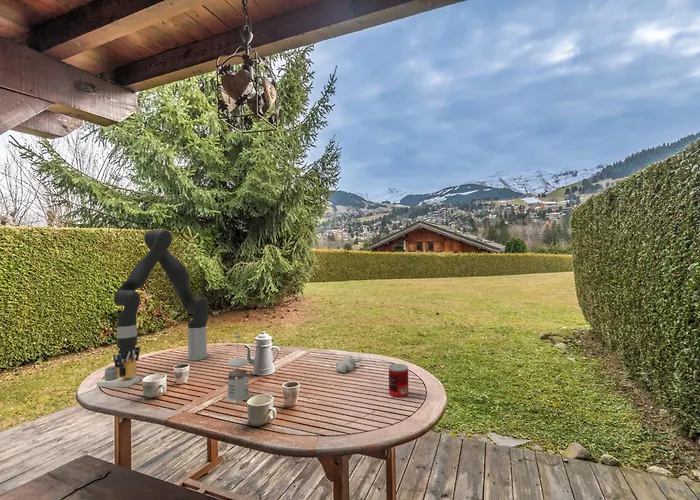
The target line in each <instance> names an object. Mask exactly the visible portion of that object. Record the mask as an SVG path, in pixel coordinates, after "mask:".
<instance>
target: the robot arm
mask: <svg viewBox="0 0 700 500" xmlns="http://www.w3.org/2000/svg"><path fill="white" fill-rule="evenodd" d="M143 238H144V243H145V244H146V245H145V246H147V248H148V249H149V251H148V252H147V253H146V254H145V256H144V257H142V259H140V260H139V261H138V262H137V264H135V266H134V268H133V269H132V270H131V272H130V274H129V276H128V277H127V279H126V281H124V282H123V284H122V285H121V286H120V287H119V288H118V289H117V290H116V292H115V294H114V296H113V301H114V303H115V305H117V306H119V307H123V311H122V312H121V311H120V312H119V313H118V315H117V329H116V347H117V348H118V353H117V354H113V355H112V358H113V362H114V366H115V367H116V368H119V375H120V376H121V377H124V376H125V375H126V368H125V367H126V363H127V362H128V359H132V360H131V361H136V362H137V361H139V358H140V357H139V356H140V351H141V347H140V346H137V344H138V327H137V313H138V311H139V307H140V302H141V297H140V296H141V295H140V293H138V292H137V290H138V289H141V288H143V287H144V285H145V284H146V282H147V280H148V278H149V277H150V274H151V273H152V271H153V269H154V268H155V266H156V265H157V263H159V264H160V265H159V266H161V268H162V270H163V271H164V273H165V274H166V277H167V278H168V280H169V282H170V284H171V285H172V287H173V288H174V289H175V292H176V294H177V295H178V297H179V299H180V302H181V304H182V306H183V309H184V311H186V313H188V314H191V315H193V319H192V320H190V321H188V323H187V359H188V361H193V362H195V361H201V360H204V359H206V358H207V357H208V352H207V351H208V350H207V349H208V342H207V322H208V319H209V302H208V299H206V298H205V297H203V296H201V297H200V296H199V297H198V296H195V295H194V293H193V292H192V291H191V288H190V274H189V272H188V271H187V269H186V267H185V266H184V264H183V263H182V262H181V261H180V260H179V259H178V258H176V257H175V256H174V255H173V254H172V253H171V252H170V251H169V250H168V248H170V246H171V244H172V242H173V234H172V233H171V232H170V231H169V230H168V229H151V230H147V231H146V233H145V234H144V237H143ZM122 359H125V360H122ZM122 362H124V363H123V365H122ZM118 364H119V365H118Z"/></svg>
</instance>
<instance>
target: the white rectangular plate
mask: <svg viewBox="0 0 700 500" xmlns="http://www.w3.org/2000/svg"><path fill="white" fill-rule="evenodd" d="M140 381H141V375H134V376H132V377H130V379H128V380H125V378H117V379H115V380H111V381H105V377H104V378H102V379H100V380H98V381H97V382H96V387H97V388H98V387H101V388H104V387H105V388H129V387H130V385H131V386H133V385H134V384H136V383H139V382H140ZM132 384H133V385H132ZM128 386H129V387H128Z"/></svg>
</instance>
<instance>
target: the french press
mask: <svg viewBox="0 0 700 500" xmlns="http://www.w3.org/2000/svg"><path fill="white" fill-rule="evenodd" d="M234 338H236V341H237V346H236V347H237V351H236V352H239V338H241V334H239V333H236V334H235V336H234ZM248 364H249V360H248V359H246V358H242V357H237V358H233V359H230V360H228V362H227V365H228V366H229V367H232V371H229V372H228V376H227V395H226V396H225V398H226V400H227V401H226V400H225V401H226V402H228V401H242V402H244V401H243V400H245V401H247V400H249V399H251V398H252V395H251V393H249V374H248V371H247V370H246V369H239V367H243V366H246V365H248ZM234 368H236V369H234ZM236 378H237V379H236ZM248 398H249V399H248ZM246 399H247V400H246Z"/></svg>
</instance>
